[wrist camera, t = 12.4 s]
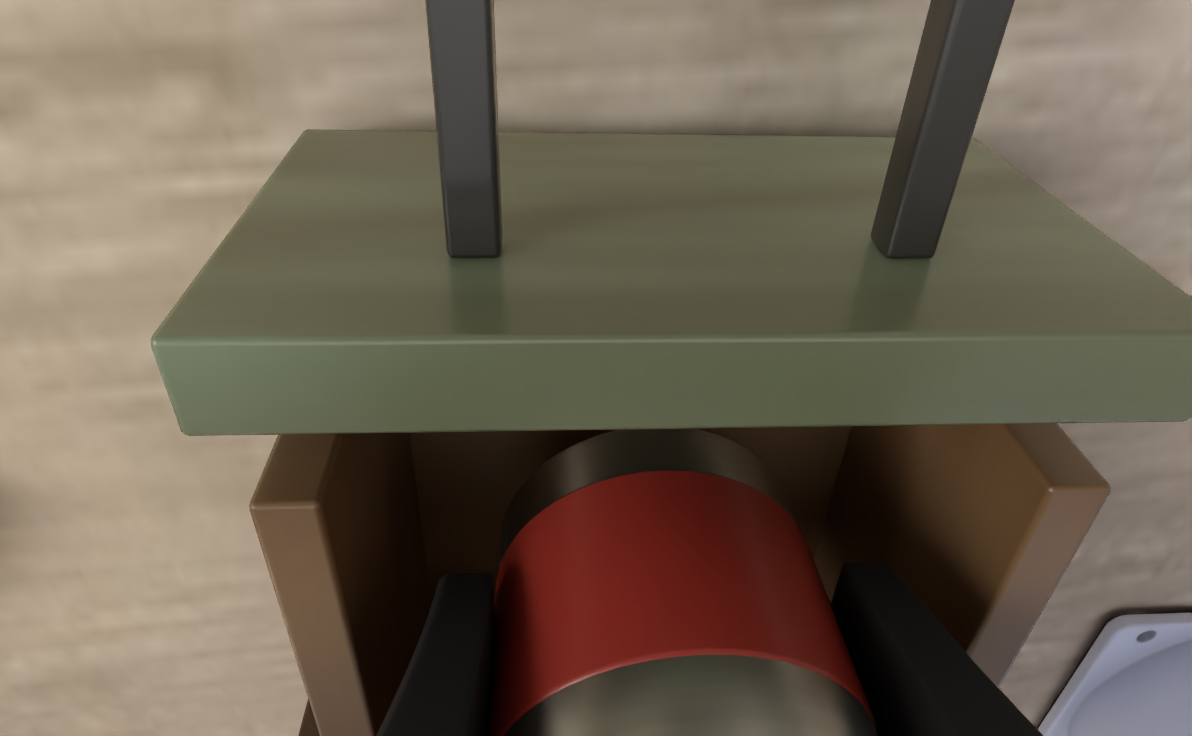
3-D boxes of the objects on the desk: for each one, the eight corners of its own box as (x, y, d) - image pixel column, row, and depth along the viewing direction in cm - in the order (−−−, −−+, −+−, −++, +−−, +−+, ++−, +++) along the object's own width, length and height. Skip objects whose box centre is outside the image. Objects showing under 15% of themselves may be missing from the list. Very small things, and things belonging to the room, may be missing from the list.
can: (818, 419, 12) (969, 735, 8) (766, 626, 14) (857, 941, 10) (492, 423, 11) (467, 756, 7) (503, 634, 14) (488, 963, 10)
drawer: (238, -221, 10) (-70, -259, 5) (1076, -184, 10) (1564, -187, 5) (394, 623, 19) (345, 902, 14) (824, 609, 20) (919, 868, 15)
